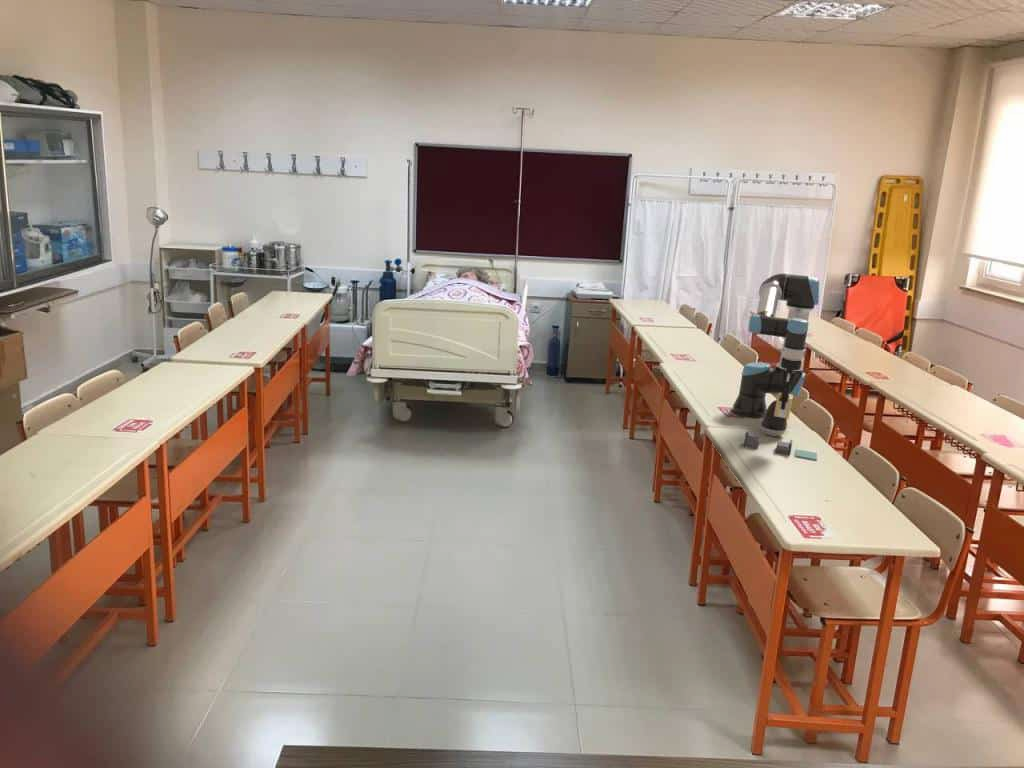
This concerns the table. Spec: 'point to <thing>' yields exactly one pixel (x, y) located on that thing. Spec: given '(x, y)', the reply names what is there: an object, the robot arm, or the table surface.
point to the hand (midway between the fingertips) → (782, 414)
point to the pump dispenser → (773, 422)
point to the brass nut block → (787, 405)
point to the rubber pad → (806, 454)
